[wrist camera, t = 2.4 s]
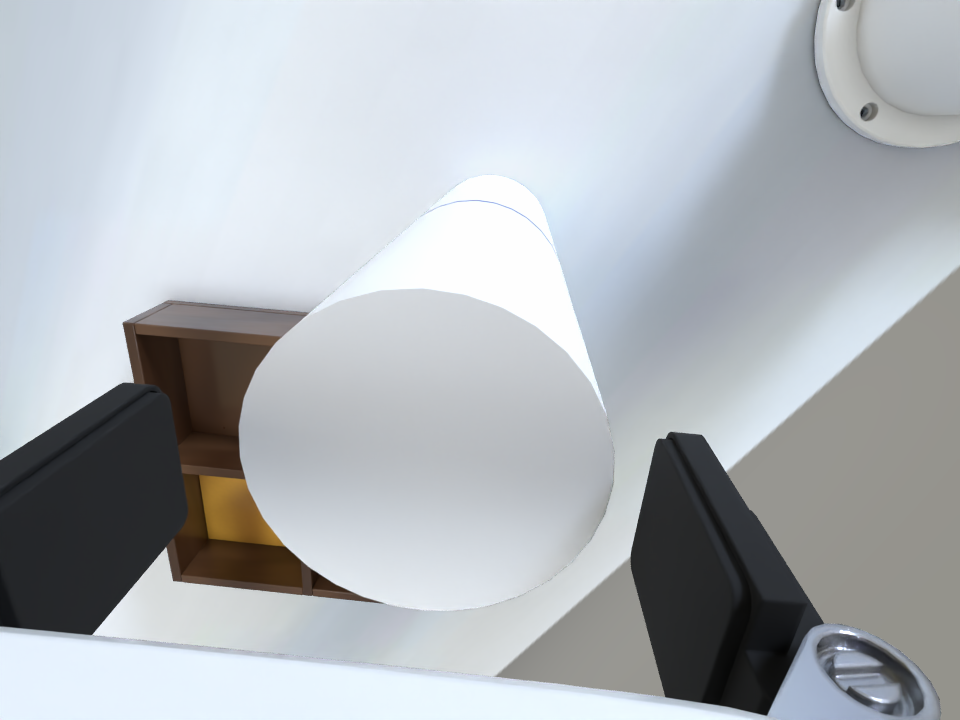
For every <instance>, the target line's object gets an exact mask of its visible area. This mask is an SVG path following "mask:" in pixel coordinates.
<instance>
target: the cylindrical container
mask: <svg viewBox="0 0 960 720" xmlns="http://www.w3.org/2000/svg"><path fill="white" fill-rule="evenodd" d="M239 447H240V460H241V464H242V467H243V471H244V475H245V479H246V482H247V486H248V489H249V491H250V493H251V495H252V497H253V499H254V501H255V503H256V505H257V507H258V509H259V511H260V513H261V515H262V517H263V519H264V520H265V521H266V522H267V524H268V525H269V526H270V528H271V529H272V530H273V531H274V533H275V534H276V535H277V537H278V538H279V539H280V540H281V542H282V543H283V544H284V545H285V546H286V547H287V548H288V549H289V550H290V551H291V552H293V553H294V554H295V555H296V556H297V557H298V558H299V559H300V560H301V561H303V562H304V563H305V564H306V565H307V566H308V567H310V568H311V569H313V570H314V571H316V572H317V573H319V574H320V575H322V576H323V577H325V578H327V579H328V580H330V581H331V582H333V583H334V584H336V585H338V586H340V587H343V588H345V589H347V590H349V591H351V592H354V593H356V594H358V595H360V596H362V597H365V598H369V599H372V600H375V601H378V602H382V603H385V604H388V605H392V606H398V607H404V608H411V609H417V610H423V611H459V610H466V609H472V608H479V607H486V606H491V605H494V604H497V603H500V602H503V601H506V600H509V599H512V598H515V597H518V596H522V595H523V594H525V593H527V592H529V591H531V590H533V589H535V588H536V587H538V586H540V585H542V584H544V583H546V582H547V581H549V580H551V579H552V578H553V577H554V576H556V575H557V574H558V573H559V572H560V571H562V570H563V569H564V568H565V567H567V566H568V565H569V564H570V563H572V562H573V561H574V560H575V558H576V557H577V556H578V555H579V554H580V552H581V551H582V550H583V549H584V548H585V546H586V545H587V544H588V543H589V542H590V540H591V539H592V537H593V535H594V534H595V532H596V530H597V528H598V526H599V524H600V522H601V521H602V519H603V517H604V515H605V512H606V509H607V505H608V501H609V498H610V494H611V491H612V487H613V478H614V452H615V451H614V447H613V442H612V437H611V432H610V427H609V423H608V418H607V414H606V411H605V408H604V405H603V401H602V398H601V395H600V392H599V389H598V385H597V382H596V379H595V376H594V373H593V369H592V366H591V363H590V360H589V357H588V353H587V350H586V347H585V344H584V341H583V337H582V334H581V331H580V328H579V325H578V321H577V318H576V315H575V312H574V309H573V305H572V302H571V299H570V295H569V292H568V289H567V285H566V282H565V279H564V275H563V272H562V268H561V265H560V262H559V259H558V255H557V252H556V249H555V246H554V243H553V240H552V237H551V233H550V230H549V227H548V223H547V220H546V216H545V214H544V212H543V210H542V207H541V205H540V203H539V202H538V201H537V199H536V198H535V197H534V195H533V194H532V193H531V192H530V191H529V190H528V189H526V188H525V187H524V186H523V185H521V184H519V183H518V182H516V181H514V180H511V179H509V178H506V177H502V176H495V175H484V176H477V177H474V178H470V179H467V180H465V181H464V182H462V183H460V184H458V185H456V186H455V187H454V188H453V189H452V190H450V191H449V192H448V193H447V194H446V195H445V196H443V197H442V198H441V199H440V200H439V201H437V202H436V203H435V204H434V205H433V206H432V207H431V208H429V209H428V210H427V211H426V212H425V213H424V214H423V215H422V216H420V217H419V218H418V219H417V220H416V221H415V222H414V223H412V224H411V225H410V226H409V227H408V228H407V229H406V230H404V231H403V232H402V233H401V234H400V235H399V236H397V237H396V238H395V239H394V240H393V241H392V242H390V243H389V244H388V245H387V246H386V247H385V248H383V249H382V250H381V251H380V252H379V253H377V254H376V255H375V256H374V257H373V258H372V259H370V260H369V261H368V262H367V263H366V264H365V265H364V266H362V267H361V268H360V269H359V270H358V271H357V272H356V273H355V274H353V275H352V276H351V277H350V278H349V279H348V280H347V281H345V282H344V283H343V284H342V285H341V286H340V287H339V288H337V289H336V290H335V291H334V292H333V293H332V294H331V295H329V296H328V297H327V298H326V299H325V300H324V301H323V302H321V303H320V304H319V305H318V306H317V307H316V308H315V309H313V310H312V311H311V312H310V313H309V314H308V315H307V316H305V317H304V318H303V319H302V320H301V321H300V322H299V323H298V324H296V325H295V326H294V327H293V328H292V329H291V330H290V331H288V332H287V333H286V334H285V335H284V336H283V337H282V338H280V339H279V340H278V341H277V342H276V343H275V344H274V346H273V347H272V348H271V350H270V351H269V352H268V354H267V355H266V357H265V358H264V359H263V361H262V362H261V363H260V365H259V366H258V367H257V369H256V370H255V373H254V375H253V378H252V380H251V382H250V385H249V387H248V389H247V392H246V394H245V396H244V400H243V405H242V411H241V417H240V422H239Z"/></svg>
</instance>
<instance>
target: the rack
mask: <svg viewBox="0 0 960 720" xmlns="http://www.w3.org/2000/svg"><path fill="white" fill-rule="evenodd" d="M308 314H309V313H303V312H292V311H281V310H270V309H258V308H247V307H236V306H225V305H214V304H203V303H191V302H180V301H169V300H168V301H166V302H164V303H162V304H160V305H158V306H156V307H154V308H152V309H150V310H148V311H146V312H144V313H141V314H139V315H137V316H135V317H133V318H131V319H129V320H127V321H125V322H123V327H124V332H125V337H126V343H127V348H128V353H129V358H130V363H131V368H132V373H133V378H134V383H135V384H147V385H156V386H158V387H159V388H160V389H161V391H162V393H164V394H166V395H168V397H169V399H170V402H171V408H172V414H173V420H174V426H175V432H176V438H177V444H178V450H179V456H180V462H181V468H182V474H183V480H184V486H185V492H186V498H187V504H188V515H187V519H186V522H185V524H184V526H183V527H182V528H181V530H180V531H179V532H178V533H177V534H176V536H175V537H174V538H173V539H172V540H171V542H170V543H169V544H168V545H167V546H166V547H167V552H168V557H169V562H170V567H171V572H172V578H173V581H178V582H186V583H195V584H205V585H214V586H223V587H233V588H242V589H251V590H260V591H270V592H279V593H288V594H298V595H308V596H312V595H313V596H318V597H327V598H336V599H346V600H355V601H364V602H374V603H382V602H378V601H375V600H372V599H369V598H365V597H362V596H360V595H358V594H356V593H354V592H351V591H349V590H347V589H345V588H343V587H340V586H338V585H336V584H334V583H333V582H331V581H330V580H328V579H327V578H325V577H323V576H322V575H320V574H319V573H317V572H316V571H314V570H313V569H311V568H310V567H308V566H307V565H306V564H305V563H304V562H303V561H301V560H300V559H299V558H298V557H297V556H296V555H295V554H294V553H293V552H291V551H290V550H289V549H288V548H287V547H286V546H285V545H284V544H283V543H282V542H281V540H280V539H279V538H278V537H277V535H276V534H275V533H274V531H273V530H272V529H271V528H270V526H269V525H268V524H267V522H266V521H265V520H264V519H263V517H262V515H261V513H260V511H259V509H258V507H257V505H256V503H255V501H254V499H253V497H252V495H251V493H250V491H249V489H248V486H247V482H246V479H245V475H244V471H243V467H242V464H241V460H240V447H239V422H240V417H241V411H242V405H243V400H244V396H245V394H246V392H247V389H248V387H249V385H250V382H251V380H252V378H253V375H254V373H255V370H256V369H257V367H258V366H259V365H260V363H261V362H262V361H263V359H264V358H265V357H266V355H267V354H268V352H269V351H270V350H271V348H272V347H273V346H274V344H275V343H276V342H277V341H278V340H279V339H280V338H282V337H283V336H284V335H285V334H286V333H287V332H288V331H290V330H291V329H292V328H293V327H294V326H295V325H296V324H298V323H299V322H300V321H301V320H302V319H303V318H304V317H305V316H307V315H308ZM383 604H385V603H383Z"/></svg>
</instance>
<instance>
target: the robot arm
mask: <svg viewBox="0 0 960 720" xmlns="http://www.w3.org/2000/svg"><path fill="white" fill-rule="evenodd" d="M840 2H841V6H840V7H839V9H838V8H837V6H836V0H821V3H820V6H819V9H818V15H817V22H816V29H815V36H814V44H815V64H816V69H817V73H818V77H819V81H820V86H821V88H822V90H823V92H824V94H825V96H826V98H827V100H828V103H829V105H830V106H831V108H832V109H833V110H834V111H835V113H836V114H837V115H838V116H839V118H840V119H841V120H842V121H843V122H844V123H845V124H846V125H848V126H849V127H850V128H852V129H853V130H854V131H856V132H857V133H858V134H860V135H861V136H864V137H866V138H868V139H871V140H873V141H875V142H878V143H880V144H886V145H891V146H897V147H912V148H927V147H936V146H944V145H949V144H953V143H956V142H960V0H840ZM862 108H863V110H864V113H863V115H862V116H861V117H860V111H861V110H862ZM187 515H188V504H187V498H186V492H185V486H184V480H183V474H182V468H181V462H180V456H179V450H178V444H177V438H176V432H175V426H174V420H173V414H172V408H171V402H170V399H169V397H168V395H166V394H164V393H162V391H161V389H160V388H159V387H158V386H156V385H147V384H135V383H122V384H120V385H118V386H116V387H115V388H113V389H112V390H110V391H108V392H107V393H105V394H104V395H102V396H101V397H99V398H97V399H96V400H94V401H93V402H91V403H90V404H88V405H86V406H85V407H83V408H82V409H80V410H79V411H77V412H75V413H74V414H72V415H71V416H69V417H68V418H66V419H64V420H63V421H61V422H60V423H58V424H57V425H55V426H53V427H52V428H50V429H49V430H47V431H46V432H44V433H42V434H41V435H39V436H38V437H36V438H35V439H33V440H31V441H30V442H28V443H27V444H25V445H24V446H22V447H20V448H19V449H17V450H16V451H14V452H13V453H11V454H9V455H8V456H6V457H5V458H3V459H2V460H0V720H940V717H941V708H940V699H939V697H938V695H937V693H936V691H935V689H934V687H933V685H932V683H931V681H930V680H929V679H928V678H927V677H926V675H925V674H924V673H923V672H922V671H921V670H920V668H919V667H918V666H917V665H916V664H915V663H914V662H913V661H911V660H910V659H909V658H908V657H907V656H905V655H904V654H903V653H902V652H901V651H900V650H898V649H897V648H895V647H893V646H892V645H890V644H888V643H887V642H885V641H884V640H882V639H880V638H879V637H877V636H874V635H872V634H870V633H867V632H865V631H863V630H860V629H858V628H854V627H850V626H846V625H842V624H824V623H823V621H822V619H821V618H820V616H819V614H818V613H817V611H816V610H815V608H814V607H813V605H812V603H811V602H810V600H809V599H808V597H807V595H806V594H805V593H804V591H803V589H802V588H801V586H800V584H799V583H798V581H797V580H796V578H795V576H794V575H793V573H792V572H791V570H790V569H789V567H788V566H787V564H786V562H785V561H784V559H783V557H782V556H781V554H780V553H779V551H778V550H777V548H776V546H775V545H774V544H773V542H772V540H771V539H770V537H769V536H768V534H767V532H766V531H765V529H764V527H763V526H762V524H761V523H760V521H759V520H758V518H757V516H756V515H755V514H754V513H753V512H752V511H751V510H749V508H748V507H747V505H746V504H745V502H744V501H743V499H742V497H741V496H740V494H739V492H738V491H737V489H736V488H735V486H734V485H733V483H732V481H731V480H730V478H729V476H728V475H727V473H726V472H725V470H724V468H723V467H722V465H721V464H720V462H719V460H718V459H717V457H716V456H715V454H714V452H713V451H712V449H711V448H710V446H709V444H708V443H707V441H706V440H705V438H704V437H703V436H702V435H698V434H687V433H676V432H670V433H669V434H668V435H667V437H666V439H658V440H657V442H656V445H655V448H654V453H653V457H652V462H651V466H650V471H649V475H648V479H647V484H646V488H645V493H644V497H643V501H642V506H641V510H640V515H639V519H638V524H637V528H636V532H635V537H634V541H633V546H632V550H631V570H632V574H633V578H634V582H635V585H636V589H637V593H638V596H639V600H640V604H641V608H642V611H643V615H644V619H645V622H646V626H647V630H648V634H649V637H650V641H651V645H652V649H653V652H654V656H655V660H656V664H657V667H658V671H659V675H660V679H661V682H662V686H663V690H664V694H665V697H659V696H652V695H645V694H638V693H630V692H621V691H612V690H603V689H594V688H585V687H577V686H570V685H562V684H554V683H545V682H536V681H527V680H517V679H508V678H499V677H490V676H481V675H472V674H463V673H454V672H444V671H435V670H426V669H417V668H408V667H399V666H389V665H380V664H371V663H361V662H351V661H342V660H332V659H323V658H313V657H303V656H294V655H284V654H274V653H265V652H255V651H245V650H235V649H225V648H216V647H206V646H196V645H186V644H176V643H166V642H156V641H145V640H135V639H125V638H115V637H104V636H94V635H92V634H93V633H94V632H95V631H96V629H97V628H98V627H99V626H100V625H101V624H102V622H103V621H104V620H105V619H106V618H107V616H108V615H109V614H110V613H111V612H112V610H113V609H114V608H115V607H116V606H117V605H118V603H119V602H120V601H121V600H122V599H123V597H124V596H125V595H126V594H127V593H128V591H129V590H130V589H131V588H132V587H133V586H134V584H135V583H136V582H137V581H138V580H139V578H140V577H141V576H142V575H143V574H144V572H145V571H146V570H147V569H148V568H149V566H150V565H151V564H152V563H153V562H154V561H155V559H156V558H157V557H158V556H159V555H160V553H161V552H162V551H163V550H164V549H165V547H166V546H167V545H168V544H169V543H170V542H171V540H172V539H173V538H174V537H175V536H176V534H177V533H178V532H179V531H180V530H181V528H182V527H183V526H184V524H185V522H186V519H187Z"/></svg>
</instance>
